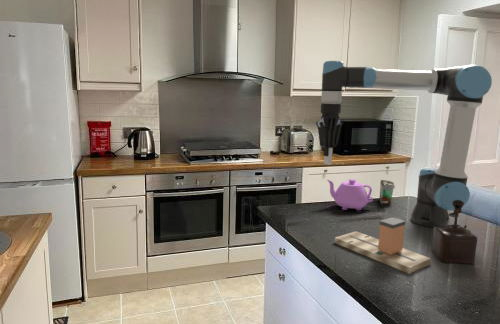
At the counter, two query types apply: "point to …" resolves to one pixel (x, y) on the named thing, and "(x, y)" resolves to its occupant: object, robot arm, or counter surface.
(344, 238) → the fader board
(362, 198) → the teapot
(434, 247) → the coffee grinder
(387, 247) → the fader knob
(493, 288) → the counter surface
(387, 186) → the food container
